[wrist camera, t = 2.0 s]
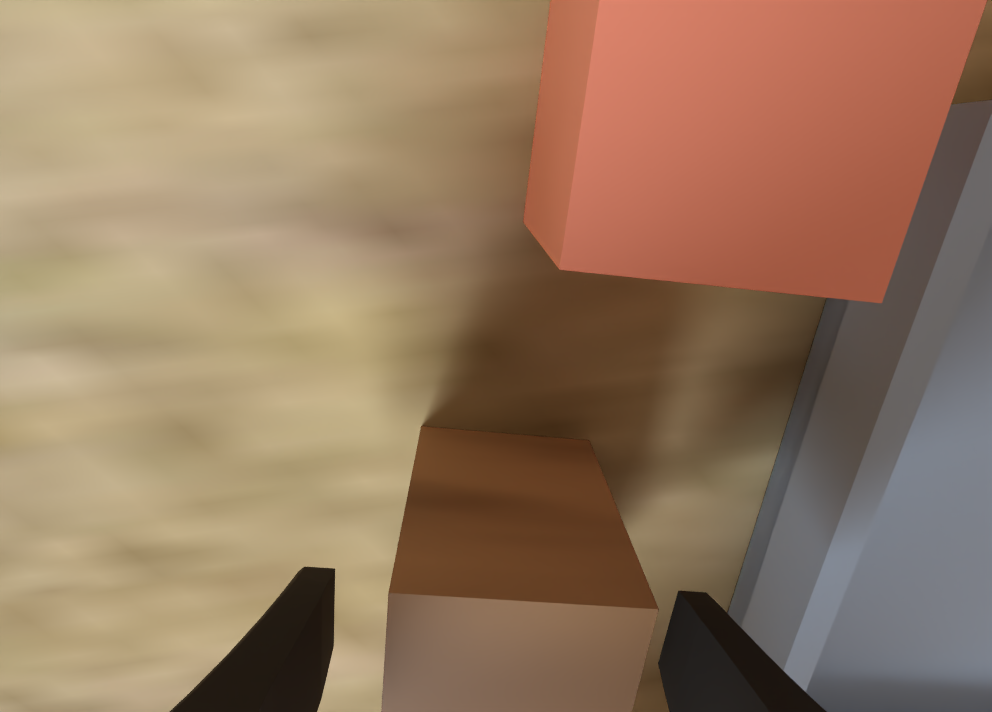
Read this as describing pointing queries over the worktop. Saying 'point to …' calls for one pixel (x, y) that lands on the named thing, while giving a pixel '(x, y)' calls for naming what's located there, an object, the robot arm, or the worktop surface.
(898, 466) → the tray
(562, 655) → the walnut block
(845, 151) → the brick-red block
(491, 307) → the worktop surface
